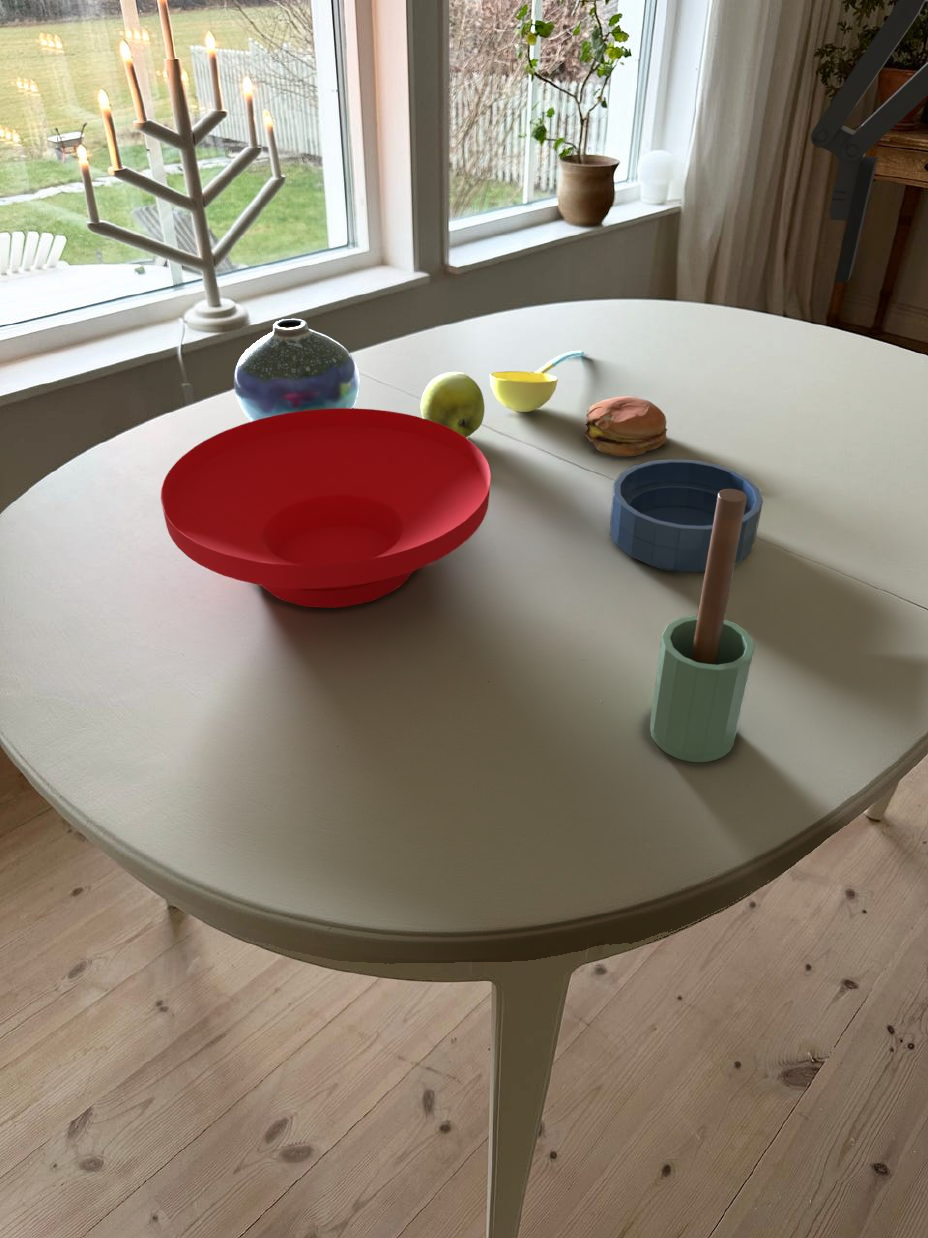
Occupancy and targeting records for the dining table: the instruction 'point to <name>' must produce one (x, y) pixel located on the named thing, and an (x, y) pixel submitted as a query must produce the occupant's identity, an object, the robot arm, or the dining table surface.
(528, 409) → the ladle
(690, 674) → the crock
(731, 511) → the stick
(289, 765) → the dining table surface
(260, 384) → the vase
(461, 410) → the apple
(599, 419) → the burger
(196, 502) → the bowl
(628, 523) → the blue pet dish
